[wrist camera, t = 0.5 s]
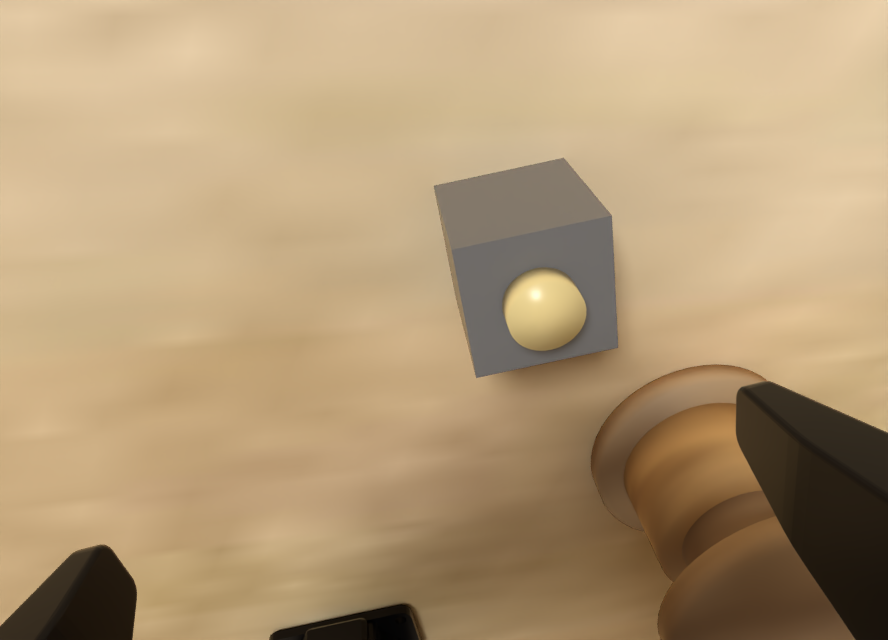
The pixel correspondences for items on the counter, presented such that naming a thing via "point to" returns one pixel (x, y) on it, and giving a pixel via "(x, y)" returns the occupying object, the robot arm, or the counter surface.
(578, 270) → the block
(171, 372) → the counter surface
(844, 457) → the robot arm
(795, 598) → the bobbin
